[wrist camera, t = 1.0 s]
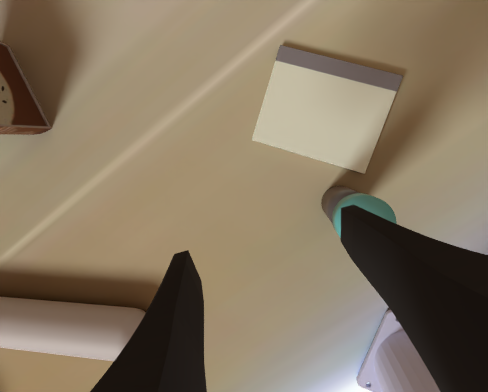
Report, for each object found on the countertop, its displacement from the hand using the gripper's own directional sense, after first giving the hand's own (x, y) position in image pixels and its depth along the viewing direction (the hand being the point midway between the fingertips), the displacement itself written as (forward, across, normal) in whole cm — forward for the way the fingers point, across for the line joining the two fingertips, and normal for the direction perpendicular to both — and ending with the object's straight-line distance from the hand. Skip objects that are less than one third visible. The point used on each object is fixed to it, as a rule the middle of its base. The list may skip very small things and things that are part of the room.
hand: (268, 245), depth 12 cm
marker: (+9, -8, +6) cm, 13 cm away
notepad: (+12, -8, -2) cm, 15 cm away
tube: (+14, +24, +14) cm, 31 cm away
